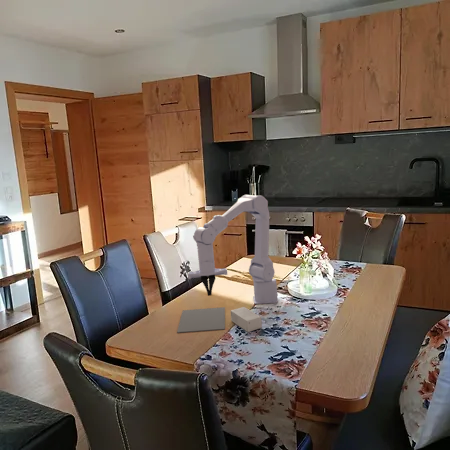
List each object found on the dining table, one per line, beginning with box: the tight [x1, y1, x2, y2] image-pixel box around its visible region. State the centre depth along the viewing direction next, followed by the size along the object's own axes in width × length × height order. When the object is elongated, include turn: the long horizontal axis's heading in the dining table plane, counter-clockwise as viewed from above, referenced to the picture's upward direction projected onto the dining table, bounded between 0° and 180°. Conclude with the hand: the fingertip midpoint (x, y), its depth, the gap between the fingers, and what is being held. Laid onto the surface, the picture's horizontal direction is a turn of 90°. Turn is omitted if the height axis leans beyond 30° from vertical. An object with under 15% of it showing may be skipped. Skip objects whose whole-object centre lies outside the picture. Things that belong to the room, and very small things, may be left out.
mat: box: [176, 306, 226, 334], centre depth 158 cm, size 17×20×1 cm
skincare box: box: [230, 306, 263, 333], centre depth 150 cm, size 6×4×12 cm
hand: (209, 294), depth 156 cm, fingers closed
